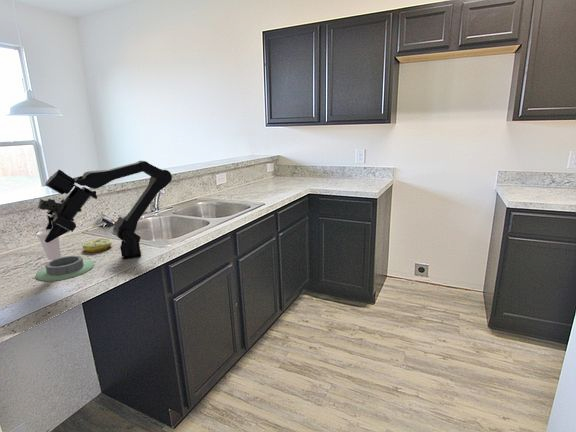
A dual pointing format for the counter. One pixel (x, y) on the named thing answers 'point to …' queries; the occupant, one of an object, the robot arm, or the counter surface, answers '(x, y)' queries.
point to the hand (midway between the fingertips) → (44, 239)
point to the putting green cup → (64, 268)
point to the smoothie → (49, 244)
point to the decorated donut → (97, 245)
